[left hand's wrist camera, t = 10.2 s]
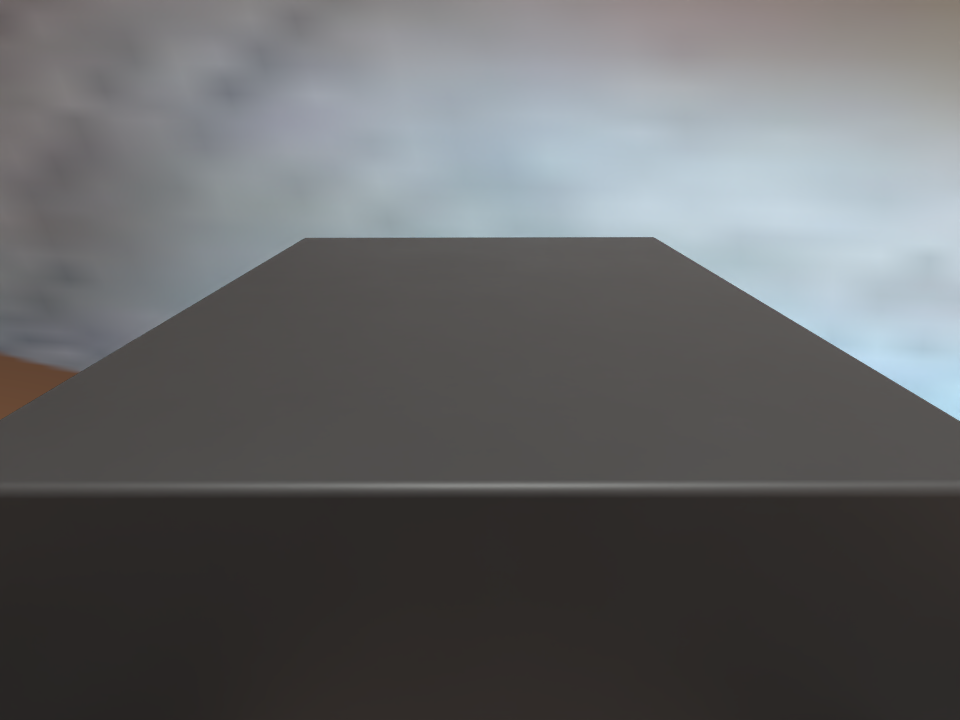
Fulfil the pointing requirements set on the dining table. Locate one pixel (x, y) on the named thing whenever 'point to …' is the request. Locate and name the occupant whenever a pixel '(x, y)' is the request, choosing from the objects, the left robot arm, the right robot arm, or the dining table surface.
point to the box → (479, 503)
